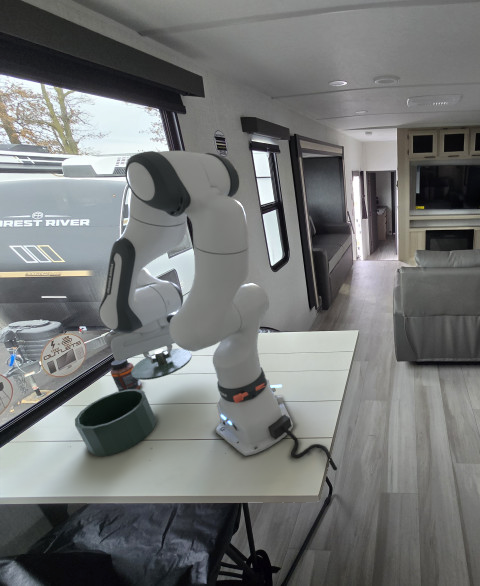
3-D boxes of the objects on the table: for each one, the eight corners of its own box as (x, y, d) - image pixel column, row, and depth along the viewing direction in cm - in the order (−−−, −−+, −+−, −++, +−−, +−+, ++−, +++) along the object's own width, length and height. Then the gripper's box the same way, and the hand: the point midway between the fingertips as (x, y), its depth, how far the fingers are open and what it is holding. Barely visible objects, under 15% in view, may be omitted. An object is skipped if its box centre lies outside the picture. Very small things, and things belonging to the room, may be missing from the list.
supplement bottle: (146, 383, 107) (135, 356, 103) (131, 395, 102) (118, 367, 97) (130, 383, 108) (118, 355, 103) (115, 394, 102) (101, 366, 98)
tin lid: (198, 365, 98) (193, 351, 96) (136, 388, 88) (130, 374, 86) (185, 346, 109) (181, 333, 107) (129, 365, 99) (123, 352, 97)
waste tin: (160, 433, 87) (149, 406, 83) (91, 466, 77) (75, 438, 74) (151, 407, 96) (140, 382, 93) (88, 434, 87) (74, 407, 83)
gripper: (102, 337, 83) (120, 379, 89) (188, 313, 97) (199, 350, 102) (100, 329, 88) (118, 369, 93) (183, 307, 101) (194, 343, 106)
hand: (161, 359), depth 98 cm, fingers closed on tin lid, 2 cm apart
